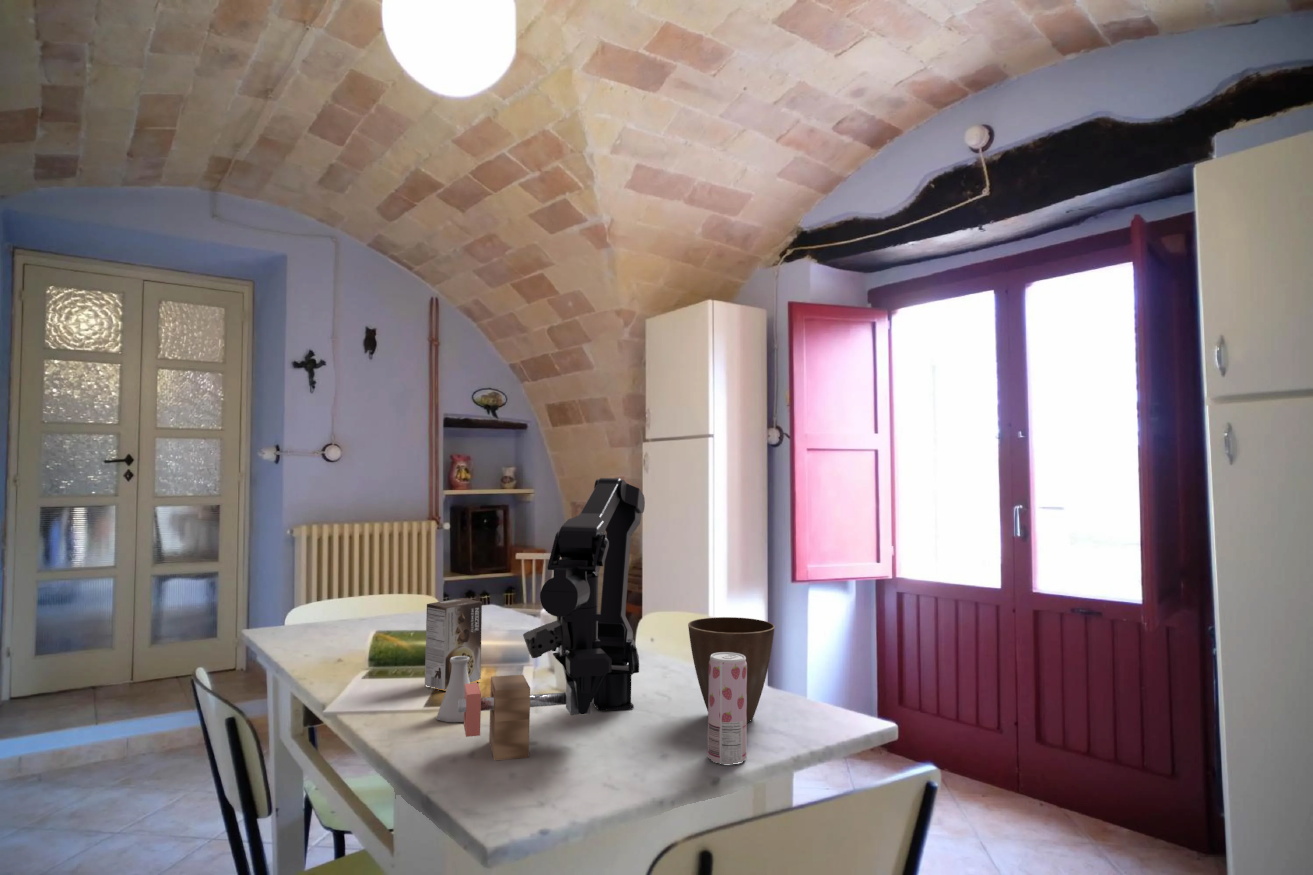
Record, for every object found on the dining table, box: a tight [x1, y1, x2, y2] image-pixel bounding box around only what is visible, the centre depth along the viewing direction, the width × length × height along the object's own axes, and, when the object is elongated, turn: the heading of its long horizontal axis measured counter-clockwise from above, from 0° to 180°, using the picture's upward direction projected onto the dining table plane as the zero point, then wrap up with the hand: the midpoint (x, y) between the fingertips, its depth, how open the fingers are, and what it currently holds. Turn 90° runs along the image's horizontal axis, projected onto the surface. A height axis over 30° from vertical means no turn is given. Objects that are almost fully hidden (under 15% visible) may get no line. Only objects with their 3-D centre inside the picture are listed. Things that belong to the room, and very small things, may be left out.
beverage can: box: [707, 652, 748, 764], centre depth 115 cm, size 6×6×15 cm
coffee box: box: [424, 597, 483, 690], centre depth 153 cm, size 9×6×16 cm
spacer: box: [463, 682, 482, 738], centre depth 116 cm, size 2×6×6 cm, turn 17°
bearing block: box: [488, 674, 531, 761], centre depth 117 cm, size 5×8×10 cm, turn 17°
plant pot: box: [687, 616, 776, 723], centre depth 135 cm, size 15×15×16 cm
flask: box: [435, 656, 470, 723], centre depth 133 cm, size 7×7×10 cm
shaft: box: [458, 681, 591, 716], centre depth 118 cm, size 20×4×4 cm, turn 107°
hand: (577, 707), depth 121 cm, fingers open, 7 cm apart
